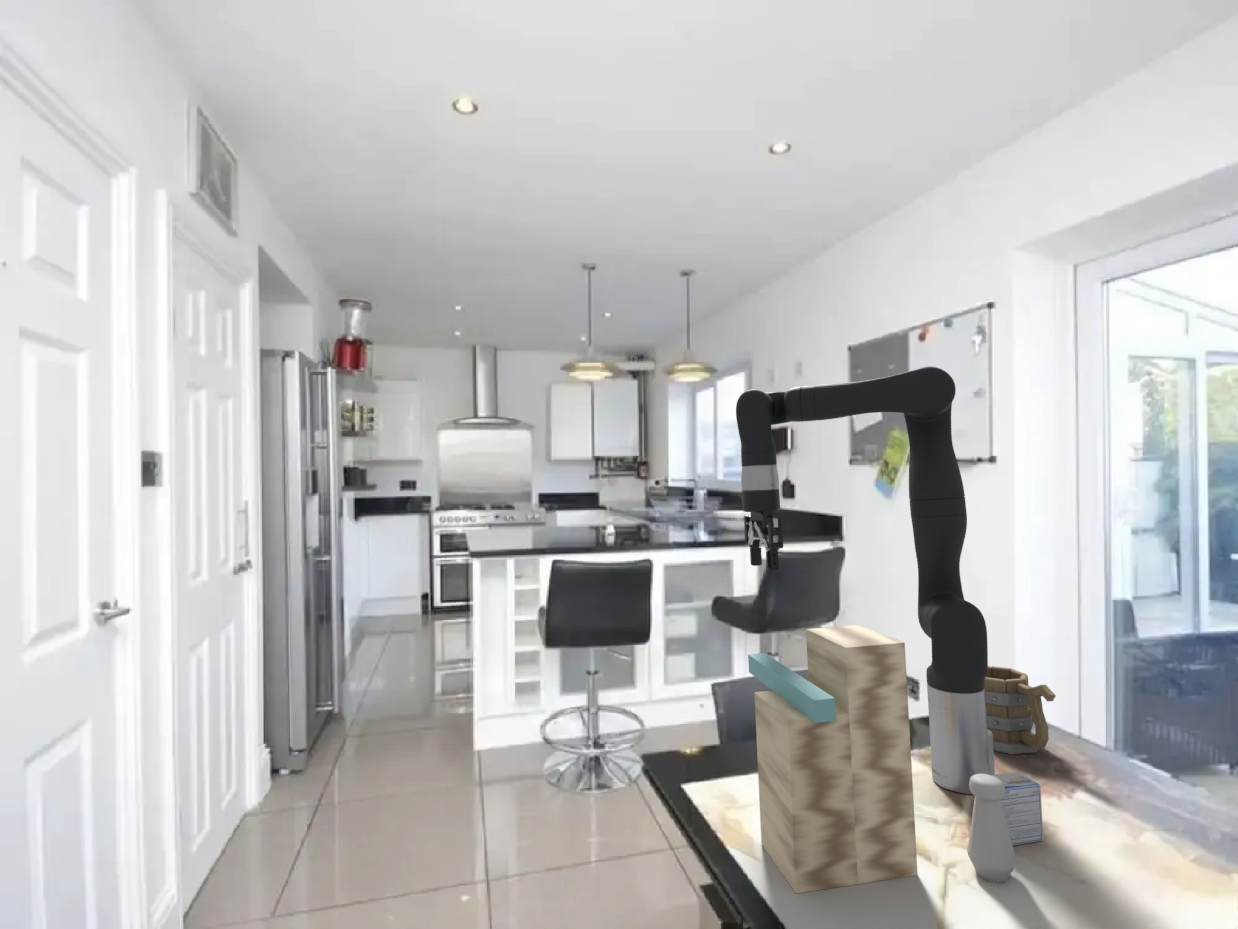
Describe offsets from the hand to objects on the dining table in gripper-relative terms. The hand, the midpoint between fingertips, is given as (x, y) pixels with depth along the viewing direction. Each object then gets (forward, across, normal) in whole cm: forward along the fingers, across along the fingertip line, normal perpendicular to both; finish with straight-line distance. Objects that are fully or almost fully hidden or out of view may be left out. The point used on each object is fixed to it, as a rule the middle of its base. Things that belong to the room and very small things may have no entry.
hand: (764, 567), depth 127 cm
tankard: (+38, -8, -48) cm, 62 cm away
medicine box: (+38, -35, -23) cm, 57 cm away
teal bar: (+15, -30, +10) cm, 35 cm away
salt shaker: (+38, -42, -14) cm, 59 cm away
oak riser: (+38, -34, +5) cm, 51 cm away
